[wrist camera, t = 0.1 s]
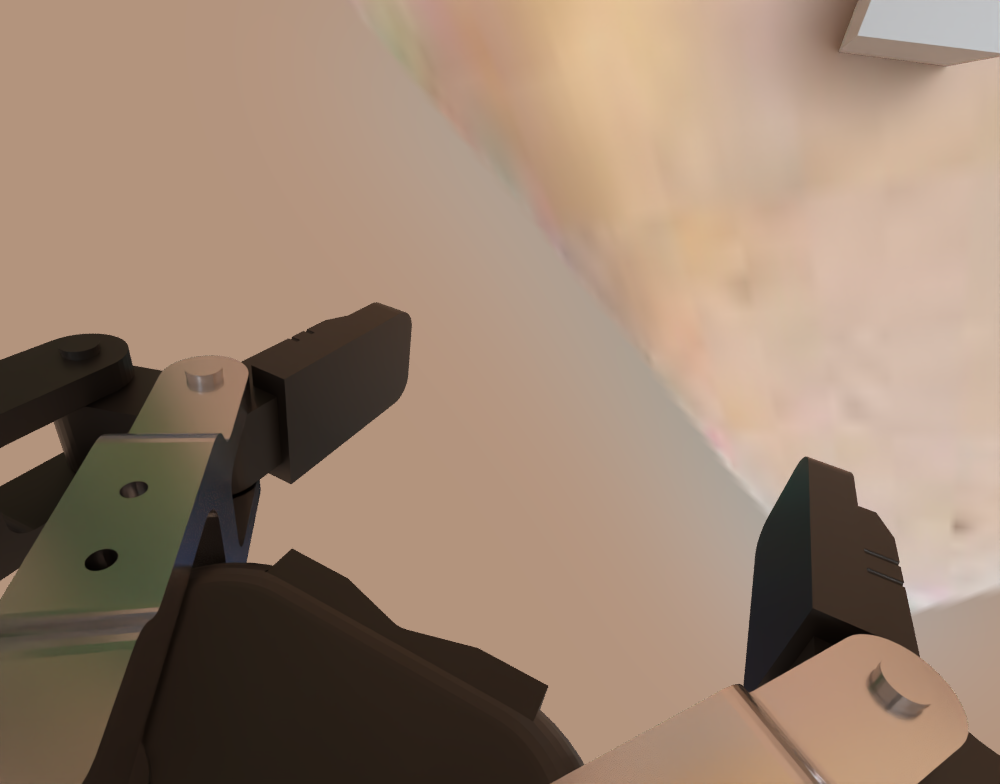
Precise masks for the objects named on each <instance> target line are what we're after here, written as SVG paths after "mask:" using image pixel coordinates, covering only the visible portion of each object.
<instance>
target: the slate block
mask: <svg viewBox="0 0 1000 784" xmlns="http://www.w3.org/2000/svg"><path fill="white" fill-rule="evenodd" d="M838 52H842V53H850V54H858V55H865V56H873V57H880V58H888V59H895V60H903V61H911V62H918V63H926V64H933V65H941V66H951V65H956V64H962V63H967V62H973V61H978V60H984V59H989V58H994V57H1000V0H858V2H857V4H856V7H855V9H854V12H853V15H852V17H851V20H850V23H849V25H848V28H847V30H846V33H845V36H844V38H843V41H842V44H841V46H840V49H839V51H838Z"/></svg>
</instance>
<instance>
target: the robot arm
mask: <svg viewBox="0 0 1000 784" xmlns="http://www.w3.org/2000/svg"><path fill="white" fill-rule="evenodd" d="M411 328H412V323H411V318H410V316H409V314H407V313H406V312H403V311H400V310H397V309H394V308H392V307H389V306H386V305H383V304H380V303H377V302H376V303H372V304H370V305H368V306H366V307H364V308H362V309H360V310H358V311H356V312H355V313H353V314H350V315H348V316H344V317H339V318H335V319H330V320H325V321H323V322H321V323H319V324H317V325H315V326H313V327H311V328H309V329H307V331H306V332H304V331H303V332H301V333H299V334H297V335H295V336H293V337H292V339H287V340H285V341H283V342H281V343H278V344H277V345H275V346H272V347H270V348H268V349H266V350H264V351H262V352H260V353H258V354H256V355H254V356H252V357H250V358H248V359H246V360H244V361H242V362H240V361H238V360H235V359H233V358H229V357H224V356H213V355H211V356H197V357H191V358H188V359H183V360H180V361H178V362H175V363H173V364H171V365H170V366H168V367H167V368H166V369H164V370H163V371H160V370H154V369H149V368H143V367H138V366H133V365H132V361H131V357H130V353H129V348H128V345H127V343H126V342H125V341H124V340H122V339H120V338H118V337H115V336H111V335H104V334H80V335H72V336H67V337H63V338H59V339H56V340H53V341H50V342H47V343H44V344H42V345H39V346H37V347H34V348H31V349H29V350H26V351H23V352H20V353H18V354H15V355H12V356H10V357H7V358H5V359H2V360H0V448H1V447H3V446H5V445H7V444H9V443H11V442H13V441H15V440H17V439H19V438H21V437H23V436H25V435H27V434H29V433H31V432H33V431H35V430H37V429H40V428H42V427H44V426H45V425H48V424H50V423H52V422H54V424H55V427H56V430H57V433H58V436H59V439H60V442H61V445H62V448H63V451H64V452H63V453H61V454H59V455H57V456H55V457H54V458H52V459H50V460H48V461H46V462H44V463H43V464H41V465H39V466H37V467H35V468H33V469H31V470H30V471H28V472H26V473H24V474H22V475H21V476H19V477H17V478H15V479H13V480H11V481H9V482H7V483H6V484H4V485H2V486H0V580H2V579H3V578H5V577H6V576H8V575H9V574H11V573H12V572H14V571H15V570H17V569H18V568H19V569H18V571H17V573H16V575H15V576H14V578H13V579H12V581H11V582H10V584H9V586H8V587H7V589H6V591H5V592H4V594H3V596H2V598H1V599H0V784H1000V755H998V754H996V753H995V752H994V751H992V750H991V749H990V748H988V747H987V746H985V745H984V744H983V743H981V742H980V741H979V740H978V739H976V738H975V737H974V736H973V735H972V734H971V733H969V732H968V721H967V716H966V713H965V711H964V709H963V706H962V704H961V702H960V701H959V699H958V697H957V695H956V694H955V693H954V691H953V690H952V689H951V687H950V686H949V684H948V683H947V682H946V681H945V680H944V679H943V678H942V677H941V676H940V674H939V673H937V672H936V671H935V670H934V669H933V668H932V667H931V666H930V665H929V664H927V663H926V662H925V661H924V660H922V659H921V658H920V655H919V651H918V646H917V641H916V637H915V632H914V627H913V622H912V618H911V613H910V608H909V604H908V599H907V594H906V590H905V587H902V586H903V583H904V580H903V576H902V571H901V567H899V566H898V564H899V557H898V552H897V548H896V543H895V538H894V537H893V536H892V534H891V533H890V531H889V530H888V529H887V527H886V526H885V524H884V523H883V522H882V520H881V519H880V517H879V516H878V515H877V513H876V512H873V511H870V510H868V509H865V508H862V507H860V506H858V503H857V496H856V489H855V482H854V476H853V474H852V473H851V472H848V471H845V470H843V469H840V468H837V467H834V466H831V465H829V464H826V463H823V462H820V461H817V460H815V459H812V458H809V457H804V458H803V459H802V460H801V461H800V462H799V463H798V465H797V467H796V468H795V470H794V472H793V474H792V475H791V477H790V479H789V481H788V482H787V484H786V486H785V488H784V490H783V491H782V493H781V495H780V497H779V499H778V500H777V502H776V504H775V506H774V507H773V509H772V511H771V513H770V515H769V516H768V518H767V520H766V522H765V524H764V526H763V529H762V531H761V534H760V537H759V540H758V543H757V548H756V554H755V565H754V575H753V586H752V598H751V609H750V620H749V631H748V642H747V653H746V664H745V675H744V686H742V685H741V684H735V685H731V686H729V687H726V688H724V689H722V690H720V691H719V692H717V693H715V694H713V695H711V696H709V697H708V698H706V699H704V700H702V701H700V702H698V703H697V704H695V705H693V706H691V707H689V708H687V709H686V710H684V711H682V712H680V713H678V714H677V715H675V716H673V717H671V718H669V719H667V720H666V721H664V722H662V723H660V724H658V725H656V726H655V727H653V728H651V729H649V730H647V731H646V732H644V733H642V734H640V735H638V736H636V737H634V738H633V739H631V740H629V741H627V742H625V743H624V744H622V745H620V746H618V747H616V748H615V749H613V750H611V751H609V752H607V753H605V754H603V755H602V756H600V757H598V758H596V759H594V760H592V761H591V762H589V763H587V764H585V765H584V764H583V761H582V760H581V758H580V756H579V755H578V753H577V752H576V750H575V749H574V748H573V746H572V745H571V743H570V742H569V740H568V739H567V738H566V737H565V736H564V734H563V733H562V732H561V731H560V730H559V729H558V727H557V726H556V725H555V724H554V723H553V722H552V721H551V720H550V719H549V718H548V717H547V716H546V715H545V714H544V713H543V712H542V711H541V710H540V708H541V705H542V703H543V700H544V697H545V694H546V691H547V688H548V685H546V684H544V683H542V682H540V681H538V680H536V679H534V678H533V677H531V676H529V675H527V674H525V673H523V672H521V671H519V670H518V669H516V668H514V667H512V666H510V665H508V664H506V663H505V662H503V661H501V660H499V659H497V658H495V657H493V656H492V655H490V654H488V653H486V652H484V651H482V650H480V649H478V648H475V647H472V646H468V645H464V644H460V643H456V642H452V641H448V640H445V639H441V638H437V637H433V636H429V635H425V634H421V633H418V632H414V631H409V630H406V629H403V628H401V627H399V626H397V625H396V624H395V623H394V622H392V621H391V620H390V619H389V618H388V617H387V616H386V615H385V614H384V613H383V612H382V611H381V610H380V609H379V608H378V607H377V606H376V605H375V604H374V603H373V602H372V601H371V600H370V599H369V598H368V597H367V596H366V595H364V594H363V593H362V592H361V591H360V590H359V589H358V588H357V587H356V586H355V585H354V584H353V583H352V582H351V581H350V580H349V579H348V578H346V577H344V576H342V575H340V574H339V573H337V572H335V571H333V570H331V569H329V568H327V567H325V566H324V565H322V564H320V563H318V562H316V561H314V560H312V559H311V558H309V557H307V556H305V555H303V554H301V553H299V552H298V551H296V550H294V549H291V550H290V551H289V552H288V553H287V554H286V555H284V556H283V557H282V558H281V559H280V560H279V561H278V562H277V563H276V564H275V565H273V566H272V565H266V564H258V563H247V558H248V553H249V547H250V543H251V537H252V533H253V528H254V523H255V517H256V512H257V507H258V502H259V497H260V491H261V487H260V479H261V478H262V477H264V476H265V475H266V474H268V473H269V474H272V475H273V476H276V477H278V478H280V479H282V480H284V481H286V482H288V483H290V484H292V483H293V482H295V481H296V480H297V479H299V478H300V477H301V476H302V475H303V474H305V473H306V472H308V471H309V470H310V469H311V468H313V467H314V466H315V465H316V464H318V463H319V462H320V461H322V460H323V459H324V458H325V457H327V456H328V455H329V454H330V453H332V452H333V451H334V450H336V449H337V448H338V447H339V446H341V445H342V444H343V443H344V442H346V441H347V440H348V439H350V438H351V437H352V436H353V435H355V434H356V433H357V432H358V431H360V430H361V429H362V428H364V427H365V426H366V425H367V424H368V423H370V422H371V421H372V420H374V419H375V418H376V417H378V416H379V415H380V414H381V413H383V412H384V411H385V410H386V409H388V408H389V407H390V406H391V405H393V404H394V403H395V402H396V401H397V400H398V399H399V398H400V396H401V395H402V393H403V391H404V389H405V386H406V383H407V379H408V368H409V355H410V341H411Z"/></svg>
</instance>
